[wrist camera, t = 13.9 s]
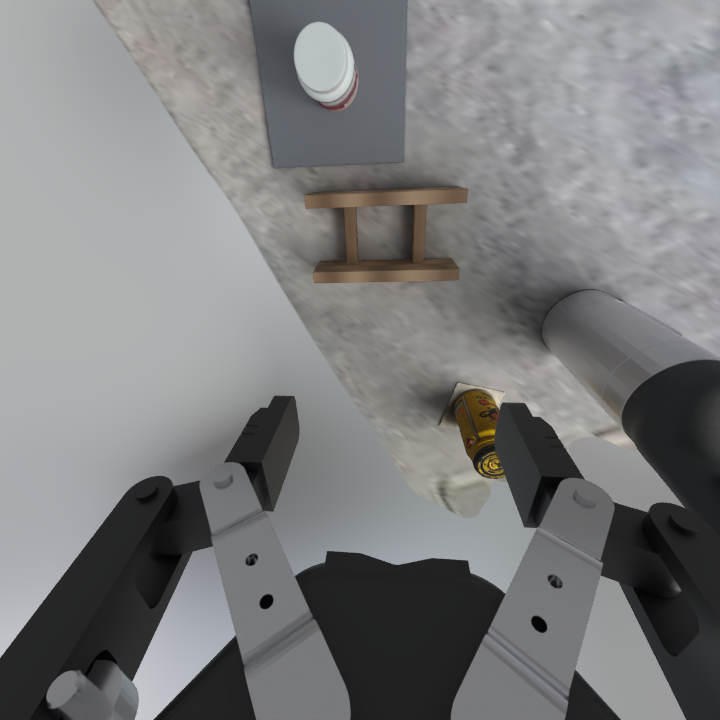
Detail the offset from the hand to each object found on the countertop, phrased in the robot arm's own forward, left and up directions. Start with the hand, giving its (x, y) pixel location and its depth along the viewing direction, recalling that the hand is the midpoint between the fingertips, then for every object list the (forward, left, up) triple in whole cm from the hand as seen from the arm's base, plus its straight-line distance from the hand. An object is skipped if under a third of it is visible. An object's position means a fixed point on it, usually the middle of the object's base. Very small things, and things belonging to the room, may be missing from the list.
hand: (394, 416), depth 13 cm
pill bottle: (+5, -16, -31) cm, 35 cm away
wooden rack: (0, -2, -31) cm, 31 cm away
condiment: (-13, +24, -32) cm, 42 cm away
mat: (+5, -16, -31) cm, 36 cm away
